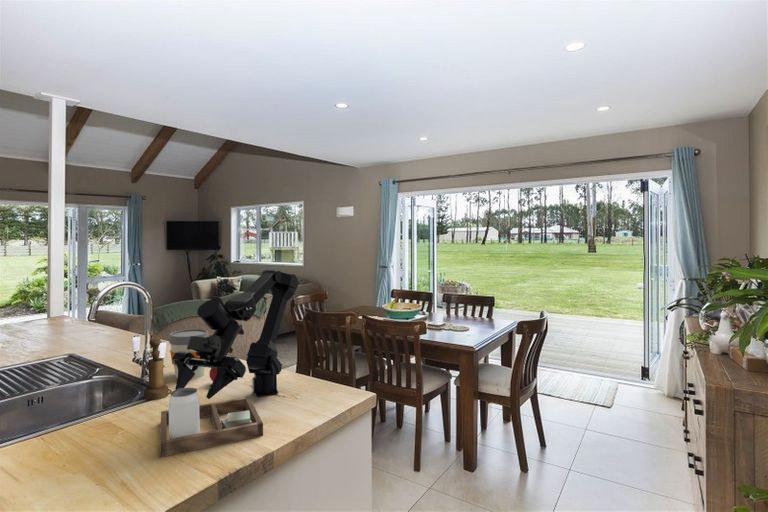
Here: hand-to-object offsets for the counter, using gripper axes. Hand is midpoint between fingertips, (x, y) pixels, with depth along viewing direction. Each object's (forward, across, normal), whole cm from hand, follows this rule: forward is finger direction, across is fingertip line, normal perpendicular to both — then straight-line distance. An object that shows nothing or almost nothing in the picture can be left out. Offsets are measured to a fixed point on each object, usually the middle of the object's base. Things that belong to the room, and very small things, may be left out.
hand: (191, 395), depth 101 cm
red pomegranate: (-16, -18, +30) cm, 38 cm away
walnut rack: (+4, +1, +11) cm, 11 cm away
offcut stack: (+3, +8, +11) cm, 14 cm away
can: (+9, 0, +6) cm, 11 cm away
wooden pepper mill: (-6, -30, +20) cm, 36 cm away
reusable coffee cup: (-19, -34, +33) cm, 51 cm away
